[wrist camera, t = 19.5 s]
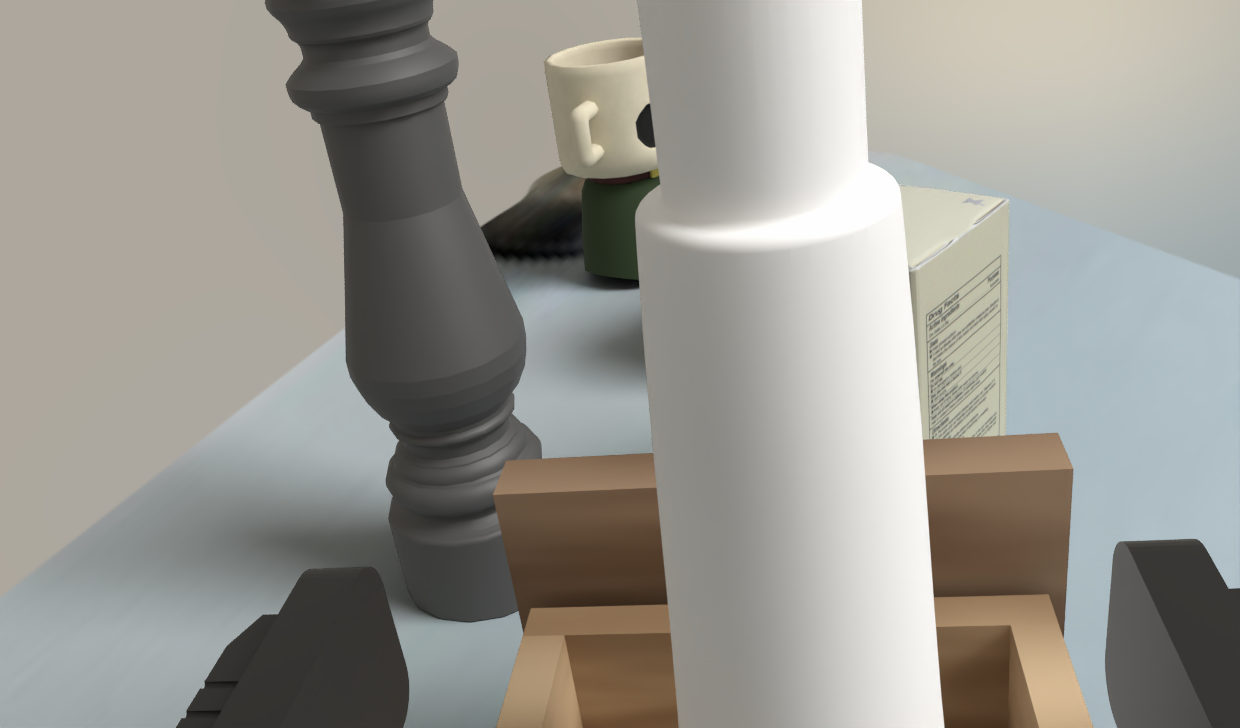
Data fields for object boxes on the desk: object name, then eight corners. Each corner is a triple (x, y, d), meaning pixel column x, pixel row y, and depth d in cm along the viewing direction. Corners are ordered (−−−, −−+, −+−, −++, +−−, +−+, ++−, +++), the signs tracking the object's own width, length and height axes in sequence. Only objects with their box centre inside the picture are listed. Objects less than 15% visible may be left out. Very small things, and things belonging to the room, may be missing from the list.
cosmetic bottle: (735, 805, 26) (595, -270, 16) (1007, 874, 23) (1040, -352, 14) (631, 1052, 21) (342, -260, 11) (958, 1173, 19) (954, -385, 9)
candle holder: (587, 592, 40) (445, -170, 29) (417, 641, 39) (201, -133, 28) (549, 504, 46) (417, -167, 34) (399, 545, 44) (212, -136, 33)
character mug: (663, 310, 61) (633, 73, 55) (546, 306, 64) (506, 79, 58) (720, 236, 70) (699, 25, 64) (615, 235, 73) (585, 32, 67)
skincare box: (905, 473, 44) (898, 177, 39) (1009, 507, 41) (1017, 192, 36) (811, 557, 40) (789, 241, 35) (920, 601, 37) (914, 264, 32)
